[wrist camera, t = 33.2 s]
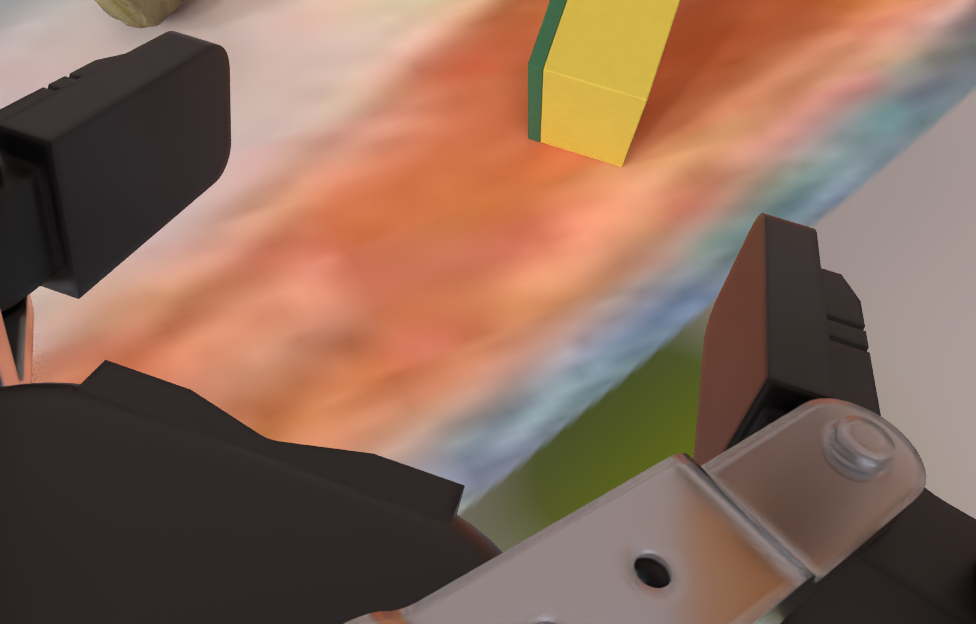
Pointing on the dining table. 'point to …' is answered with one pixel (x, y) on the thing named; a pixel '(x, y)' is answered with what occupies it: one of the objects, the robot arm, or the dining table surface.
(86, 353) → the dining table surface
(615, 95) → the sponge
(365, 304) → the dining table surface
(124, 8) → the fennel bulb
